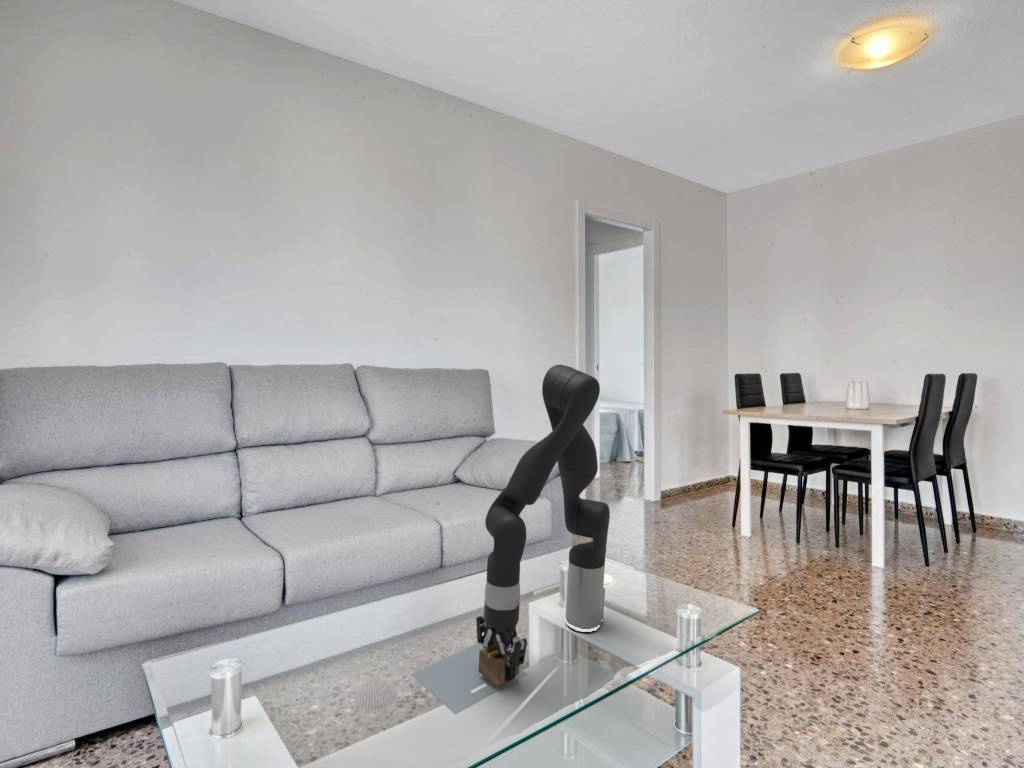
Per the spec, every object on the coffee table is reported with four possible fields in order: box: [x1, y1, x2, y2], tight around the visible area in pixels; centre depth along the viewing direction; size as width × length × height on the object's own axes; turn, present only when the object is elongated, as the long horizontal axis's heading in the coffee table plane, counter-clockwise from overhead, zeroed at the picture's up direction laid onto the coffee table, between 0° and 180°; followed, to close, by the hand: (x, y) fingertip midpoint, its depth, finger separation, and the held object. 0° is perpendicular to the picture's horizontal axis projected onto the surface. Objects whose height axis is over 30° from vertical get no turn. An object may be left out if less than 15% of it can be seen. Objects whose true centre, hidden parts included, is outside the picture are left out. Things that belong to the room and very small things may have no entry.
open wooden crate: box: [479, 644, 520, 686], centre depth 128 cm, size 6×6×6 cm
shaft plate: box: [410, 642, 528, 715], centre depth 129 cm, size 20×16×5 cm
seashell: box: [353, 675, 399, 711], centre depth 121 cm, size 10×6×10 cm
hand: (499, 671), depth 128 cm, fingers closed on open wooden crate, 6 cm apart
